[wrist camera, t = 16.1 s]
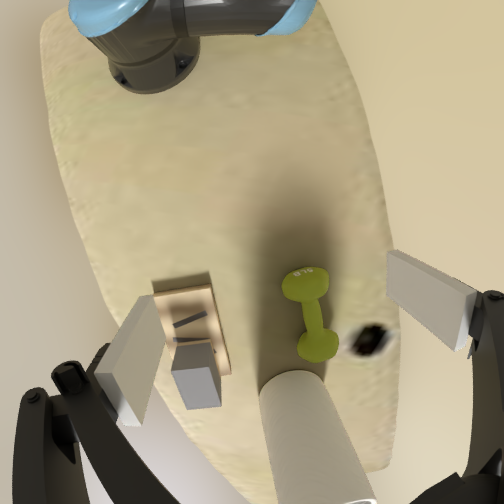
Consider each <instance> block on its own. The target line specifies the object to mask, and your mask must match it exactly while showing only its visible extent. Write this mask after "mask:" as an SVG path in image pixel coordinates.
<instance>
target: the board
mask: <svg viewBox="0 0 504 504" xmlns="http://www.w3.org/2000/svg"><path fill="white" fill-rule="evenodd" d="M153 297H154V301H155V304H156V307H157V310H158V314H159V317H160V320H161V323H162V326H163V329H164V332H165V335H166V338H167V339H166V344H167V347H168V349H169V352H170V355H171V358H172V360H173V359H174V355H175V351H176V347H177V343H184V342H191V341H199V340H206V339H211V343H212V347H213V350H214V354H215V358H216V361H217V365H218V368H219V372H220V375H221V376H224V375H231V366H230V362H229V358H228V354H227V350H226V346H225V342H224V338H223V334H222V330H221V326H220V322H219V318H218V313H217V309H216V305H215V300H214V296H213V292H212V287H211V284H205V285H199V286H193V287H187V288H181V289H175V290H169V291H163V292H157V293H154V294H153Z"/></svg>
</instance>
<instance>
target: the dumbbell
mask: <svg viewBox="0 0 504 504" xmlns="http://www.w3.org/2000/svg"><path fill="white" fill-rule="evenodd" d="M328 286H329V275H328V272H327V271H326V270H325V269H322V268H317V267H305V268H301V269H298V270H295V271H292V272H290V273H289V274H287V276H286V277H285V278H284V280H283V282H282V291H283V294H284V296H285V297H286V298H288V299H290V300H293V301H297V302H301V304H302V312H303V318H304V322H305V326H306V329H307V332H305V333H303V334H302V335H301V337H300V339H299V341H298V344H297V352H298V355H299V356H300V357H301V358H303V359H304V360H306V361H309V362H311V363H319V362H322V361H325V360H328V359H330V358H332V357H334V356H335V355H336V353H337V350H338V345H339V338H338V335H337V333H336V332H334V331H332V330H329V329H326V328H323V319H322V313H321V308H320V304H319V301H318V298H320V297H322V296H323V295H324V294H325V293H326V291H327V289H328Z"/></svg>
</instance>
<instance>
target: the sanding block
mask: <svg viewBox="0 0 504 504" xmlns="http://www.w3.org/2000/svg"><path fill="white" fill-rule="evenodd" d="M171 373H172V375H173V378H174V380H175V383H176V385H177V388H178V390H179V392H180V395H181V397H182V400H183V402H184V404H185V406H186V409H187V410H191V409H202V408H212V407H221V406H222V404H221V375H220V372H219V368H218V365H217V361H216V358H215V354H214V350H213V347H212V343H211V339H206V340H199V341H191V342H184V343H177V347H176V351H175V355H174V359H173V364H172V368H171Z"/></svg>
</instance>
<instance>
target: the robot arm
mask: <svg viewBox="0 0 504 504" xmlns="http://www.w3.org/2000/svg"><path fill="white" fill-rule="evenodd" d="M316 2H317V0H70V1H69V6H68V12H69V16H70V19H71V20H72V22H73V23H74V24H75V25H76V27H77V28H78V30H79V32H80V33H81V34H82V35H83V36H85V37H86V38H87V39H88V40H90V41H91V42H92V43H93V44H94V45H95V46H96V47H97V48H98V49H99V50H100V51H102V52H103V53H104V54H105V55H106V56H107V57H108V63H109V69H110V72H111V74H112V76H113V78H114V79H115V81H116V82H117V83H119V84H120V85H121V86H122V87H123V88H125V89H126V90H128V91H130V92H133V93H138V94H153V93H158V92H162V91H165V90H167V89H170V88H172V87H173V86H175V85H177V84H178V83H180V82H181V81H182V80H184V79H185V78H186V77H187V76H188V75H189V74H190V72H191V71H192V70H193V68H194V67H195V65H196V63H197V61H198V58H199V54H200V44H199V38H198V37H200V36H214V35H255V36H265V35H289V34H291V33H294V32H296V31H298V30H299V29H300V28H302V27H303V26H304V24H305V23H306V22H307V20H308V19H309V17H310V16H311V14H312V12H313V10H314V7H315V5H316ZM386 296H388V297H389V298H390V299H391V300H393V301H394V302H395V303H396V304H398V305H399V306H400V307H401V308H403V309H404V310H405V311H406V312H408V313H409V314H410V315H411V316H412V317H414V318H415V319H416V320H417V321H419V322H420V323H421V324H422V325H423V326H425V327H426V328H427V329H428V330H429V331H430V332H432V333H433V334H434V335H435V336H436V337H438V338H439V339H440V340H441V341H442V342H443V343H444V344H446V345H447V346H448V347H449V348H450V349H451V350H453V351H454V352H455V351H457V350H459V349H461V348H462V347H464V346H465V345H466V341H467V337H468V334H469V335H470V336H471V337H473V340H472V344H471V347H470V350H469V354H468V358H467V359H469V358H470V356H471V355H472V365H473V418H472V432H471V443H470V451H469V459H468V464H467V467H466V470H465V472H464V474H463V476H462V477H459V475H458V474H457V472H455V473H454V474H452V475H450V476H449V477H447V478H446V479H444V480H442V481H441V482H439V483H437V484H436V485H434V486H432V487H430V488H429V489H427V490H426V491H424V492H423V493H422V494H421V495H419V496H418V497H417V498H416V499H415V500H413V501H412V502H411V503H410V504H504V294H503V293H501V292H499V291H494V290H490V291H485V292H484V293H481V292H479V291H477V290H475V289H474V288H472V287H470V286H468V285H466V284H465V283H463V282H461V281H459V280H457V279H455V278H453V277H451V276H449V275H447V274H445V273H443V272H441V271H439V270H437V269H435V268H433V267H431V266H429V265H427V264H426V263H424V262H421V261H420V260H418V259H416V258H413V257H411V256H409V255H407V254H405V253H403V252H401V251H399V250H393V251H389V252H387V284H386ZM166 339H167V338H166V335H165V332H164V329H163V326H162V323H161V320H160V317H159V314H158V310H157V307H156V304H155V301H154V297H153V295H146V296H140V297H139V298H138V300H137V302H136V303H135V305H134V306H133V308H132V309H131V311H130V313H129V314H128V316H127V317H126V319H125V321H124V322H123V324H122V326H121V327H120V329H119V330H118V332H117V334H116V335H115V337H114V339H113V340H112V342H111V343H106V344H105V345H104V346H103V347H101V348H100V349H99V351H98V352H97V354H96V355H95V358H94V359H93V360H92V363H91V364H90V366H89V367H88V369H87V370H86V372H85V371H84V369H83V367H82V365H81V364H80V363H79V362H78V361H67V362H64V363H62V364H60V365H58V366H57V367H56V368H55V369H54V370H53V372H52V373H51V378H52V380H53V381H54V383H55V385H56V387H57V388H58V390H59V392H60V393H61V395H55V396H51V397H49V395H48V394H47V392H46V391H45V390H44V389H43V388H40V387H37V388H33V389H30V390H28V391H27V392H26V393H25V395H24V396H23V397H22V399H21V403H20V408H19V414H18V420H17V427H16V435H15V444H14V455H13V475H12V496H13V504H90V501H89V497H88V493H87V488H86V483H85V479H84V473H83V468H82V462H81V456H80V448H79V442H81V445H82V447H83V449H84V451H85V453H86V455H87V457H88V459H89V461H90V463H91V465H92V467H93V469H94V470H95V472H96V474H97V476H98V478H99V480H100V481H101V483H102V485H103V487H104V488H105V490H106V492H107V493H108V495H109V497H110V498H111V500H112V501H113V503H114V504H180V503H179V502H178V501H177V500H176V498H175V497H173V495H172V494H171V493H170V492H169V491H168V490H167V489H166V488H165V487H164V485H163V484H162V483H161V482H160V481H159V480H158V479H157V477H156V476H155V475H154V474H153V473H152V472H151V470H150V469H149V468H148V467H147V465H146V464H145V463H144V462H143V460H142V459H141V458H140V457H139V456H138V454H137V453H136V451H135V450H134V449H133V447H132V446H131V445H130V443H129V442H128V441H127V439H126V438H125V436H124V435H123V433H122V432H121V430H120V429H119V428H118V426H117V425H116V421H117V419H118V416H119V418H120V419H121V421H122V422H123V424H124V426H142V423H143V419H144V415H145V411H146V407H147V404H148V400H149V397H150V393H151V389H152V386H153V382H154V379H155V375H156V372H157V368H158V365H159V362H160V358H161V355H162V352H163V348H164V345H165V342H166Z"/></svg>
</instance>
